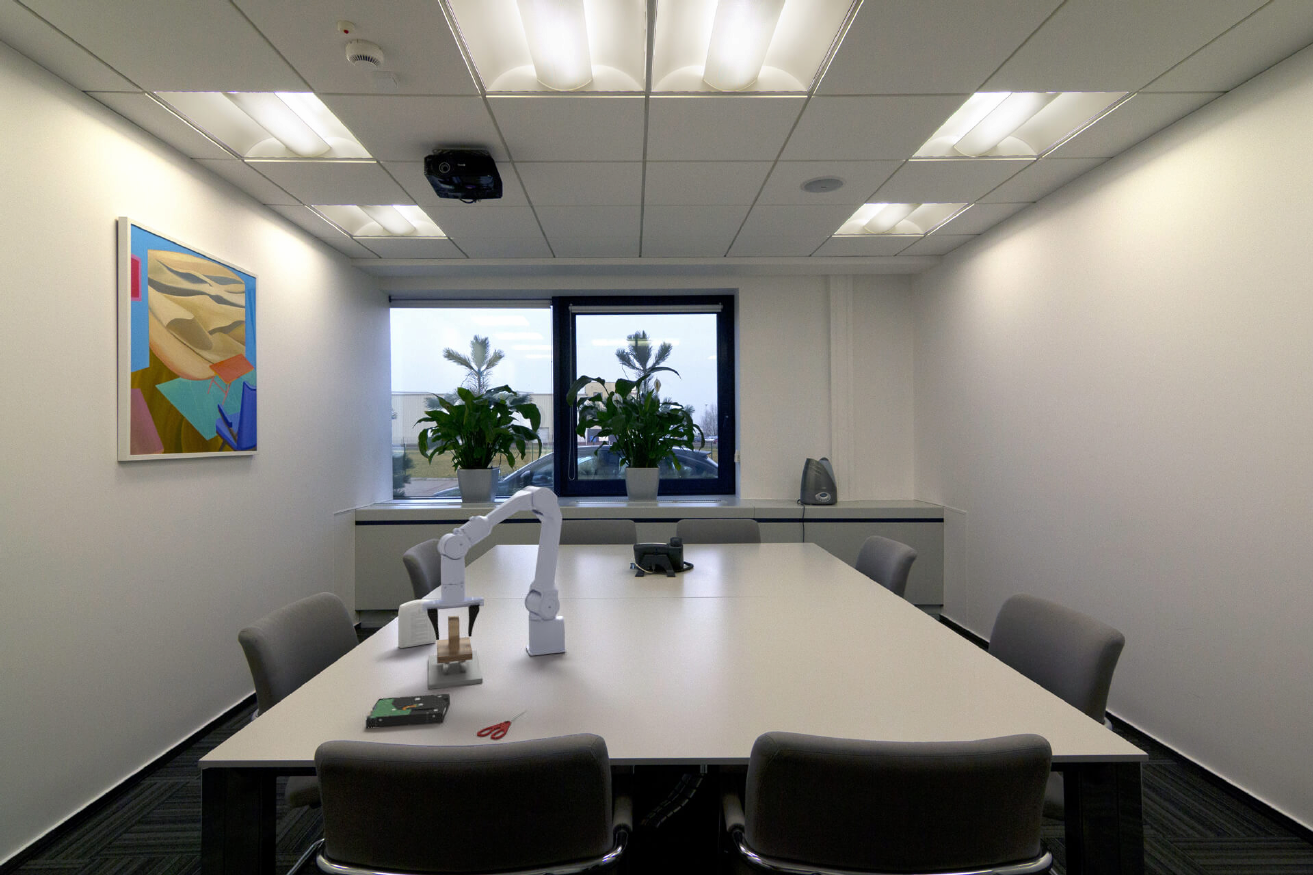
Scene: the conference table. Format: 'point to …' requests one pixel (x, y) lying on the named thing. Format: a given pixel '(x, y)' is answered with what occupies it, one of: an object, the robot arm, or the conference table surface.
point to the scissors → (501, 726)
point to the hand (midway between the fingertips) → (453, 637)
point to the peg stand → (454, 672)
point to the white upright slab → (414, 625)
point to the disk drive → (408, 711)
